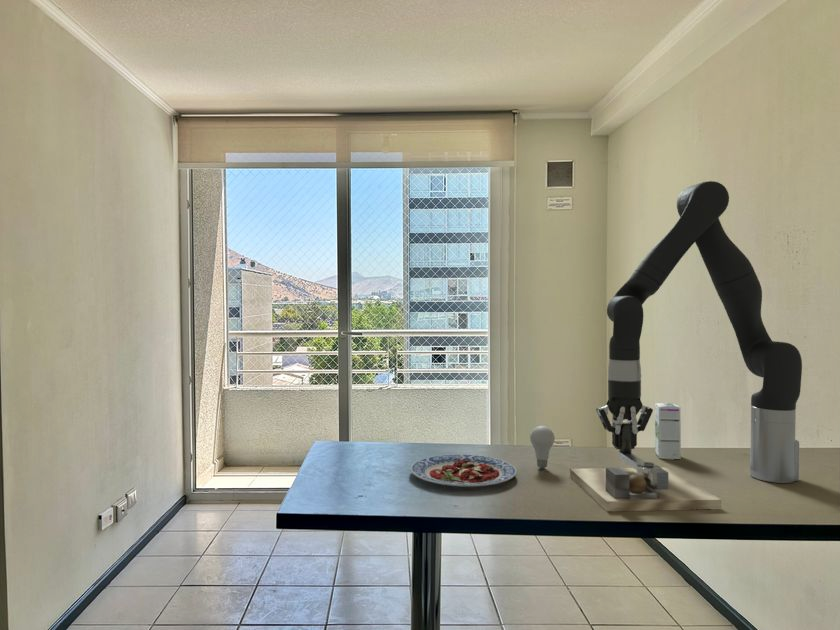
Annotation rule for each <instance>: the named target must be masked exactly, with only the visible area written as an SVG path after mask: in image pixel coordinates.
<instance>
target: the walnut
mask: <svg viewBox="0 0 840 630" xmlns="http://www.w3.org/2000/svg"><path fill="white" fill-rule="evenodd" d="M645 489H646V481H645V480H644V478H643V477H641V476H640V475H631V476H629V491H630V492H631V493H643V492H644V491H645Z"/></svg>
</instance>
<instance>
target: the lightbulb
mask: <svg viewBox="0 0 840 630" xmlns="http://www.w3.org/2000/svg"><path fill="white" fill-rule="evenodd" d="M555 439H556V438H555V433H554V432H553V430H552V429H551V428H549V427H548V426H546V425H537V426H536V427H534V428H533V429H532V431H531V432H530V436H529V440H530V443H531V445H532V447H533V449H534V452H535V458H536V466H537V467H538V468H539V469H541V470H544V469H545V468H547V467H548V460H549V455H550V451H551V449H552V447H553V446H554V443H555Z"/></svg>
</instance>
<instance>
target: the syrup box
mask: <svg viewBox="0 0 840 630" xmlns="http://www.w3.org/2000/svg"><path fill="white" fill-rule="evenodd" d="M681 422H682V421H681V407H680V406H679V405H677V404H676V403H671V402H659V403H658V402H656V403H655V404H654V453H655V455H656V456H657V458H659V459H662V460H674V459H680V460H682V458H681V456H682V454H681V453H682V452H681V450H682V449H681V447H682V445H681V444H682V442H681V441H682V438H681V437H682V435H681V434H682V432H681V427H682V426H681Z"/></svg>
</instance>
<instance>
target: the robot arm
mask: <svg viewBox="0 0 840 630" xmlns="http://www.w3.org/2000/svg"><path fill="white" fill-rule="evenodd" d="M729 202H730V195H729V191H728V189H727V188H726V187H725V185H724V184H722V183H721V182H719V181H715V180H714V181H712V180H708V181H703V182H700V183H697V184H693V185H691V186H689V187H686V188H684V189H683V190H682V191H681V192H680V193H679V195H678V197H677V200H676V210H677V213H678V215H679V218H678V220H677V222H676V223H675V224H674V225H673V226H672V228H670V230H669V231H668V232H667V233H666V235H664V236H663V237H662V238H661V239H660V240H659V241H658V242H657V243H656V244H655V245H654V246H653V247H652V248H651V249H650V250H649V251H648V252H647V254H646V255H645V256H644V257H643V258H642V260H641V262H640V263H639V264H638V265H637V267H636V268H635V269H634V271H633V272H632V274H631V276H630V277H629V279H628V280H626V282H625V283H624V284H623V285H622V286H621V287H620V288H619V290H618V291H617V292H616V293H615V294H614V295H613V296H612V297H611V298H610V300H609V302H608V304H607V306H606V315H607V317H608V319H609V320H610V321H611V322H613V323H612V324H613V327H612V336H611V337H610V339H609V345H608V346H609V347H608V349H609V350H608V357H609V358H608V366H607V367H608V369H607V379H608V380H607V383H608V384H607V395H608V396H607V397H608V399H607V401H606V404H605V405H604V406H602V407H597V408H596V410H595V411H596V413H597V415H598V417H599V420H600V422H601V424H602V426H603V429H604V430H605V431H607V432H610V433H611V435H612V438H611V439H612V440H611V444H612V446H613V447H614V449H616V450H619V449H621V434H619V433H620V429H621V425H622V423H624V422H623V421H624V420H626V423H630V424H632V450H634V449H636V447H637V445H638V443H637V441H638V433H639V432H644V431H645V430H646V427H647V425H648V423H649V421H650V419H651V416H652V414H653V411H654V410H653V408H652V407H650V406H645V405H643V402H642V400H641V398H642V385H641V384H642V367H641V360H640V359H641V345H640V341H641V335H642V331H643V324H644V308H643V304H644V303H645V302H646V300H647V299H648V298H650V297H651V296H654V295H655V294H656V293H657V292H658V290H659V289H660V288H661V286H662V285H663V284H664V282H665V281H666V280H667V279H668V277H669V276H670V274H671V273H672V271H673V270H674V269H675V267H676V266H677V265H678V263H679V262H680V261H681V259H682V258H683V257H684V256H685V255H686V254H687V252H688V251H689V249H691V247H693V244H695V245H696V247H697V249H698V251H699V254H700V257H701V258H702V261H703V263H704V265H705V267H706V270H707V272H708V274H709V277H710V279H711V282H712V285H713V286H714V289H715V291H716V293H717V296H718V297H719V300H720V301H721V303H722V305H723V308H724V310H725V312H726V315H727V317H728V319H729V321H730V324H731V326H732V328H733V330H734V334H735V336H736V340H737V342H738V345H739V349H740V352H741V354H742V355H741V356H742V359H743V361H744V363H745V365H746V368H747V369H748V371H749V372H751V373H752V374H753V375H755V376H757V377H760V378H763V379H762V387H761V389H760V390H759V391H756V392H754V393H753V394H752V395H751V399H750V452H749V453H750V456H749V458H750V459H749V461H750V462H749V468H750V469H749V474H750V476H751V477H753V478H755V479H757V480H761V481H764V482H770V483H777V484H778V483H779V484H790V483H793V482H799V481H800V441H799V440H797V439H796V423H797V422H796V419H797V418H796V411H797V403H798V400H799V398H800V394H801V387H802V373H803V360H802V359H803V358H802V355H801V352H800V350H799V349H798V348H797V347H796V346H795V345H794V344H792V343H788V342H784V341H775V340H774V341H773V340H772V339H771V337H770V335H769V333H768V331H767V329H766V327H765V324H764V322H763V319H762V301H763V290H762V285H761V282H760V280H759V278H758V276H757V273H756V272H755V269H754V267H753V265H752V263H751V262H750V260H749V258H748V257H747V256H746V255H745V254H744V253H743V251H741V249H739V247H738V246H737V245H736V244H735V243H734V242H733V241H732V240H731V239H730V237H729V236H728V234H727V233H726V232H725V229H724V228H723V225H722V223H721V220H720V217H721V216H722V214H724V212H726V210H727V208H728V206H729ZM609 412H610V413H611V415H612V416H611V421H610V419H609V418H608V415H609ZM639 413H640V415H639V418H638V419H637V416H638V414H639Z"/></svg>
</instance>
